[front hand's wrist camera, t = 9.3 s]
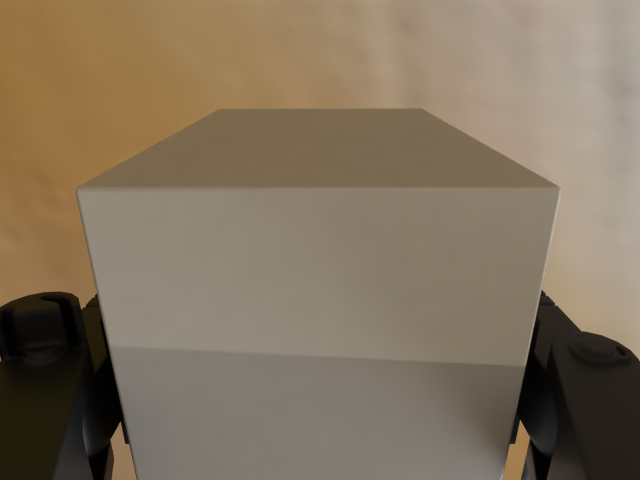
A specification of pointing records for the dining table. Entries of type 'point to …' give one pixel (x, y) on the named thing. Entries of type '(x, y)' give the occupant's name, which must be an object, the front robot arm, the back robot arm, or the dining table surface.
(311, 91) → the dining table surface
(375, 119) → the post
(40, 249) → the dining table surface
